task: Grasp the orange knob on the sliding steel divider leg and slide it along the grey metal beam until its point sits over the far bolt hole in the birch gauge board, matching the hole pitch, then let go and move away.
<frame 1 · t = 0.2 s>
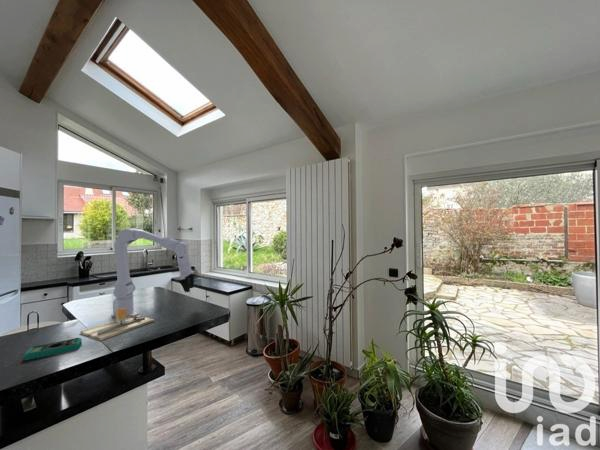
hand: (189, 289, 140), 11 cm above the counter, tool pointing down, fingers open, 7 cm apart
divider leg: (122, 317, 118), point 4 cm above the counter, slide at 6.0 cm
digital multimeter: (54, 352, 96), on the counter
hole gauge board: (119, 327, 118), on the counter
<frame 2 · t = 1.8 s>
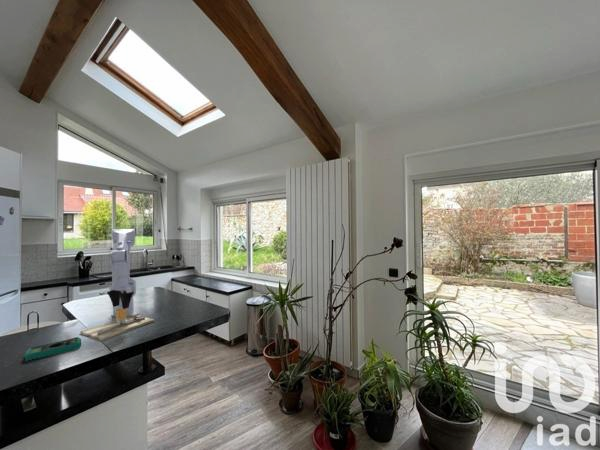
hand: (120, 307, 118), 9 cm above the counter, tool pointing down, fingers open, 7 cm apart
nothing on the counter moved.
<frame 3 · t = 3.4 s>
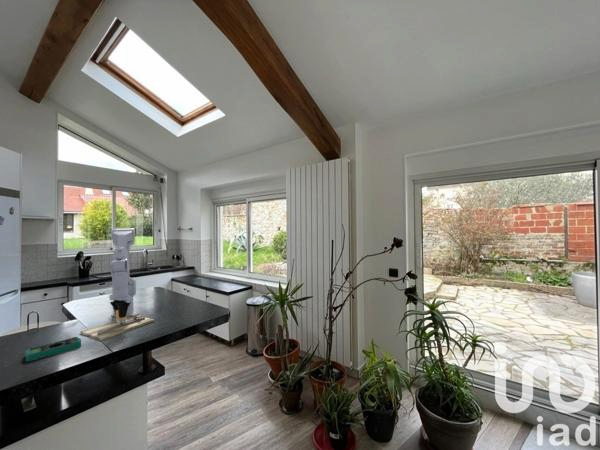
hand: (121, 316, 119), 4 cm above the counter, tool pointing down, fingers closed on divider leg, 2 cm apart
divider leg: (122, 317, 118), point 5 cm above the counter, slide at 6.0 cm, touching gripper
everything else where it was.
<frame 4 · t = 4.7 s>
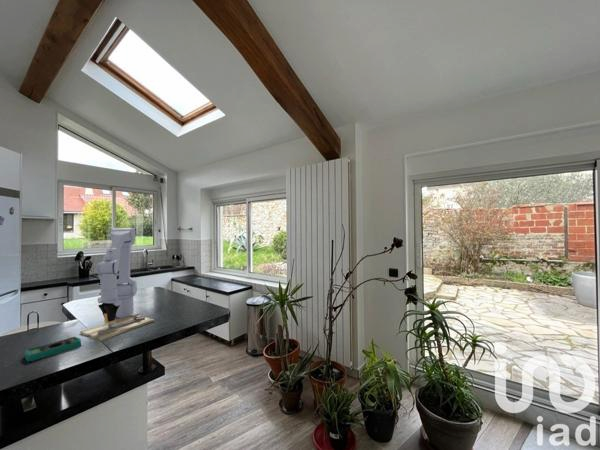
hand: (109, 320, 114), 4 cm above the counter, tool pointing down, fingers closed on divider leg, 2 cm apart
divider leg: (111, 320, 114), point 4 cm above the counter, slide at 10.6 cm, touching gripper
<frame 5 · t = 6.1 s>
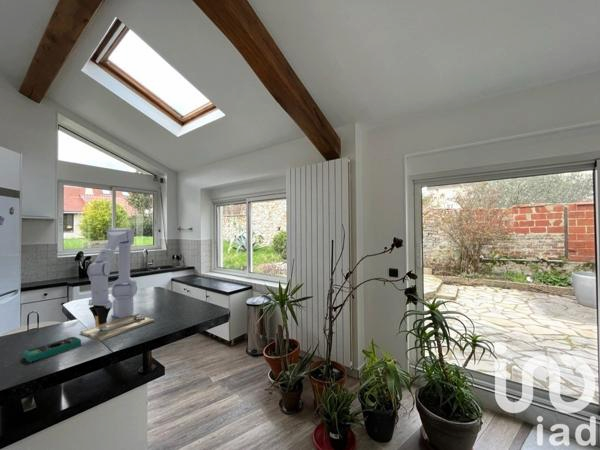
hand: (101, 322, 111), 4 cm above the counter, tool pointing down, fingers closed on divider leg, 2 cm apart
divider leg: (102, 323, 111), point 4 cm above the counter, slide at 14.0 cm, touching gripper
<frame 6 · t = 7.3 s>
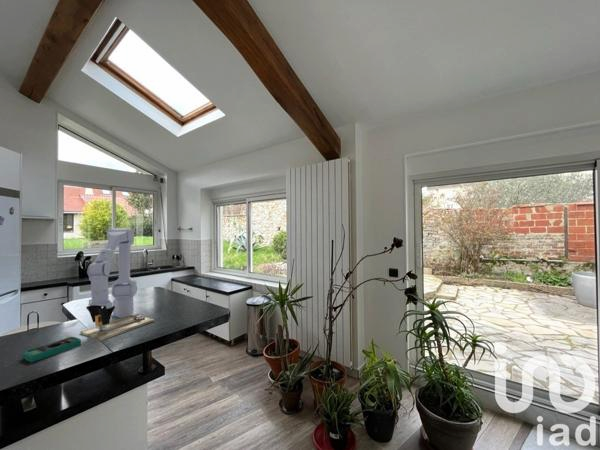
hand: (101, 322, 111), 4 cm above the counter, tool pointing down, fingers open, 7 cm apart
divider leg: (102, 323, 111), point 5 cm above the counter, slide at 14.0 cm
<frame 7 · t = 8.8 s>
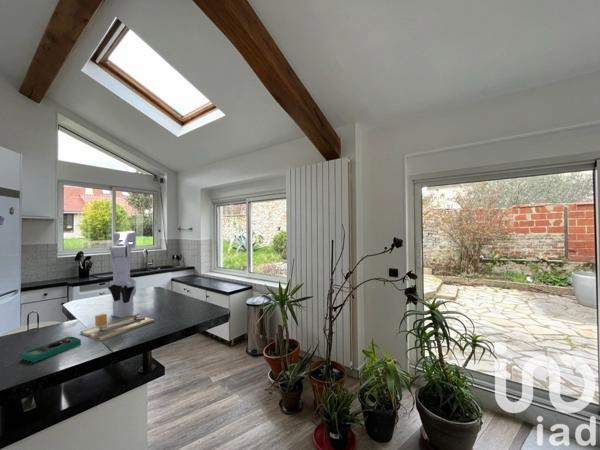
hand: (121, 301, 121), 10 cm above the counter, tool pointing down, fingers open, 7 cm apart
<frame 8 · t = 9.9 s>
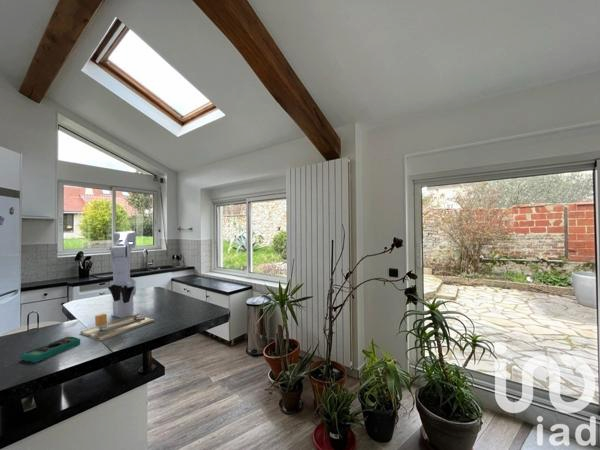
hand: (121, 301, 121), 10 cm above the counter, tool pointing down, fingers open, 7 cm apart
at the end: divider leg slide at 14.0 cm; the gripper is holding nothing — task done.
